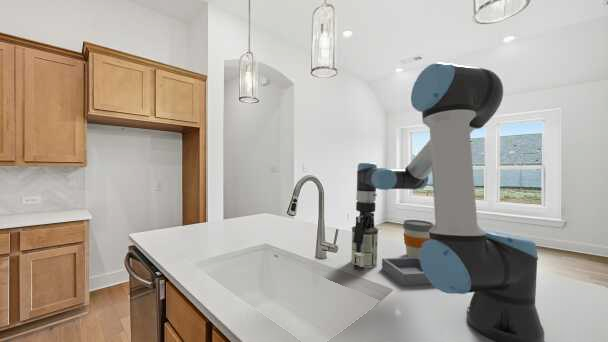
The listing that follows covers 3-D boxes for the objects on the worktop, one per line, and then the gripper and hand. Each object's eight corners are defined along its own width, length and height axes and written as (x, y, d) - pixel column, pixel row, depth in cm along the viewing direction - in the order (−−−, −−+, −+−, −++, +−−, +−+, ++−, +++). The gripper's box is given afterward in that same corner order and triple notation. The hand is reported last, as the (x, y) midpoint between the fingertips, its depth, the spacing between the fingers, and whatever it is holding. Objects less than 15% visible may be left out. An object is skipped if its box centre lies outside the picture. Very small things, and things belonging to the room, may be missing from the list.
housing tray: (444, 283, 90) (444, 272, 90) (403, 286, 87) (404, 274, 87) (417, 267, 104) (417, 257, 104) (381, 268, 102) (382, 258, 102)
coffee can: (349, 258, 113) (351, 225, 113) (374, 259, 112) (375, 226, 112) (351, 267, 102) (353, 230, 102) (379, 269, 101) (380, 232, 101)
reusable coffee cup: (415, 262, 110) (417, 226, 110) (396, 252, 122) (397, 220, 122) (439, 259, 114) (440, 224, 114) (418, 250, 126) (419, 219, 126)
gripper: (364, 205, 95) (362, 266, 96) (383, 199, 114) (382, 251, 114) (345, 203, 100) (343, 262, 100) (367, 198, 118) (365, 248, 119)
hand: (364, 256), depth 107 cm, fingers closed on coffee can, 10 cm apart
